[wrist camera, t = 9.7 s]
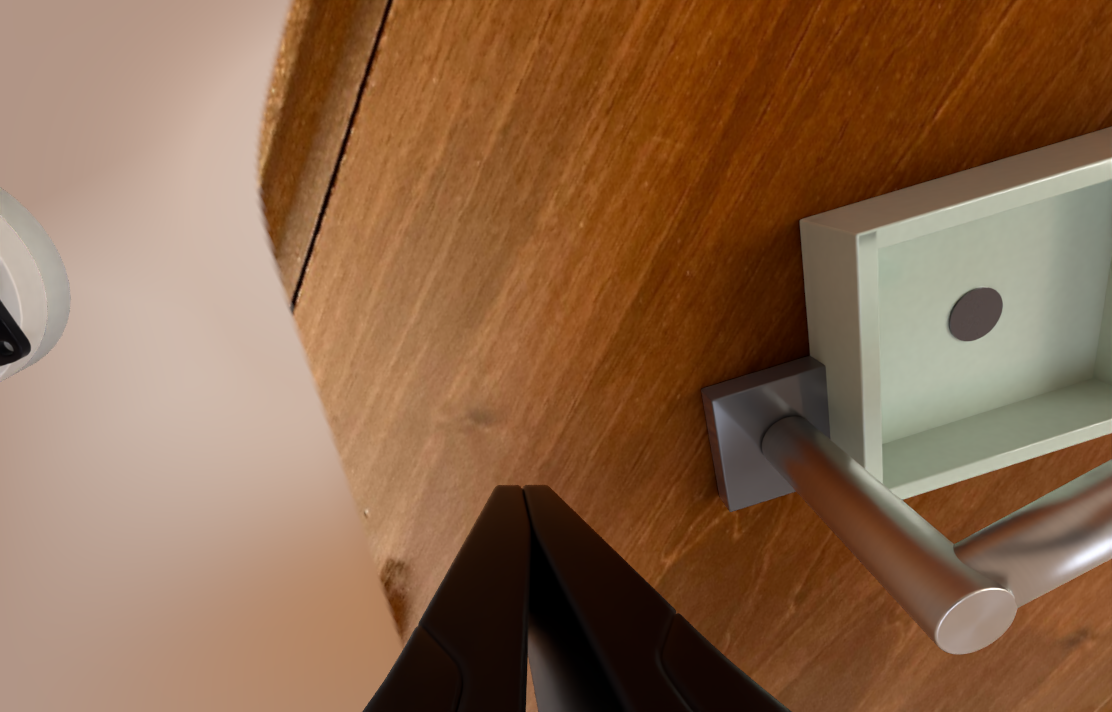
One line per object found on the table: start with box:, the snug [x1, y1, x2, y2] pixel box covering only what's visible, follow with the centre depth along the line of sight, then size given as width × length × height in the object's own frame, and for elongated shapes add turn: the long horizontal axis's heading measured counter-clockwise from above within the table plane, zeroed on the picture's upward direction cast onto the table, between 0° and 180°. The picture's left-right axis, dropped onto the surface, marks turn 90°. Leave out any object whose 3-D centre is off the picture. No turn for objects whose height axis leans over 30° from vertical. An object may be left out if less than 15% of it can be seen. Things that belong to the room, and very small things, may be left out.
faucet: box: [762, 416, 1112, 654], centre depth 19 cm, size 13×2×10 cm, turn 120°
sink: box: [701, 127, 1112, 512], centre depth 23 cm, size 19×12×4 cm, turn 105°
